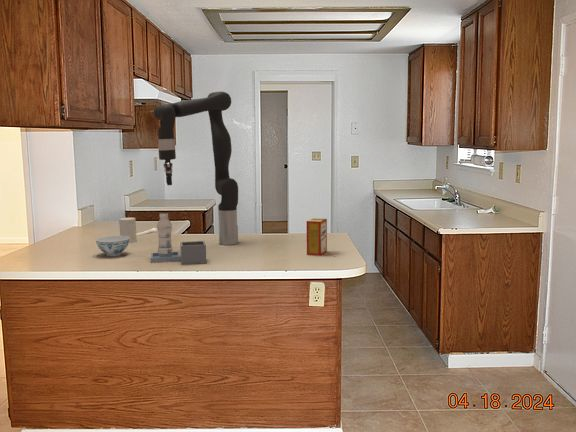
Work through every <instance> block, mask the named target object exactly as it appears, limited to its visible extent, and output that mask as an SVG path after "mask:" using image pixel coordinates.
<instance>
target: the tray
mask: <svg viewBox="0 0 576 432" xmlns="http://www.w3.org/2000/svg"><path fill="white" fill-rule="evenodd" d="M169 262H170V263H171V262H173V263H174V262H181V252H180V251H173V255H172V256H171V257H159V256H158V252H151V253H150V263H151V264H152V263H153V264H155V263H169Z"/></svg>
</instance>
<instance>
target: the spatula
mask: <svg viewBox="0 0 576 432" xmlns="http://www.w3.org/2000/svg"><path fill="white" fill-rule="evenodd" d="M150 233H158V230H157V227H152V228H150V229H147V230H145V231H141V232H136V237H139V236H143V235H147V234H150Z"/></svg>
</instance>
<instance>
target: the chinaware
mask: <svg viewBox="0 0 576 432" xmlns="http://www.w3.org/2000/svg"><path fill="white" fill-rule="evenodd" d="M129 239H130V238H129V237H127V236H120V235H110V236H109V235H108V236H102V237H97V238H96V239H95V242H96V245H97V247H98V248H99V250H100V251H101V252H102V253H103V254H105V256H106V257H119V256H121V255H122V253H123V252H124V251H125V250H126V249H127V248H128V246H129V244H130V243H129Z"/></svg>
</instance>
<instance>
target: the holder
mask: <svg viewBox="0 0 576 432" xmlns="http://www.w3.org/2000/svg"><path fill="white" fill-rule="evenodd" d="M179 243H180V247H179V248H180V262H181V265H196V264H207V244H206V241H205V240H194V241H179Z"/></svg>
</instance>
